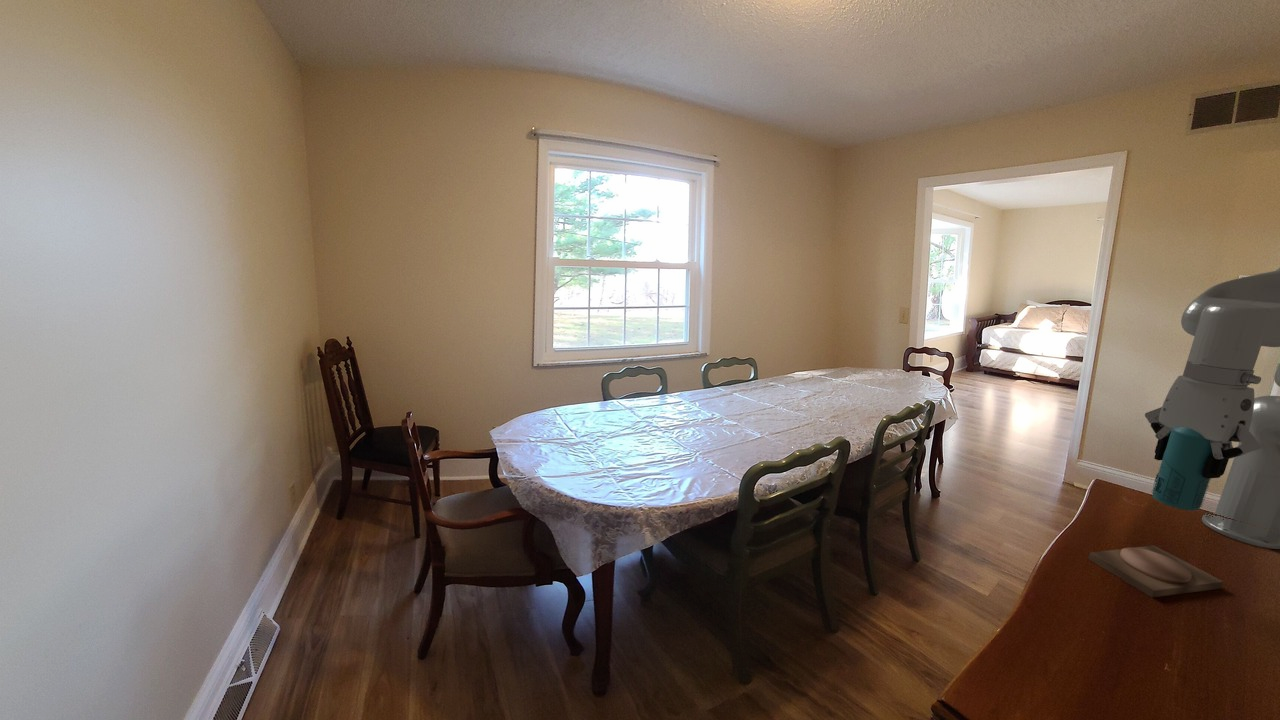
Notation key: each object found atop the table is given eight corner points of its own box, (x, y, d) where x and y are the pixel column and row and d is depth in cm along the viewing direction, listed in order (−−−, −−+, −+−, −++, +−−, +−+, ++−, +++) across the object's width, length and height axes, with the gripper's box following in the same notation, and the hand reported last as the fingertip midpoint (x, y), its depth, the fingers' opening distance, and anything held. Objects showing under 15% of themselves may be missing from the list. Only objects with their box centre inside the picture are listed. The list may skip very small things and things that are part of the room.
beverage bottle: (1209, 520, 87) (1245, 417, 82) (1165, 516, 88) (1198, 413, 83) (1178, 502, 93) (1210, 404, 88) (1138, 497, 95) (1167, 401, 90)
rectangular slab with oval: (1151, 551, 101) (1154, 542, 100) (1220, 588, 90) (1224, 577, 90) (1088, 558, 98) (1090, 549, 98) (1151, 597, 88) (1155, 586, 87)
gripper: (1305, 389, 77) (1267, 490, 81) (1172, 361, 93) (1147, 447, 98) (1269, 390, 75) (1232, 493, 80) (1141, 362, 92) (1116, 449, 96)
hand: (1185, 467), depth 89 cm, fingers closed on beverage bottle, 6 cm apart
